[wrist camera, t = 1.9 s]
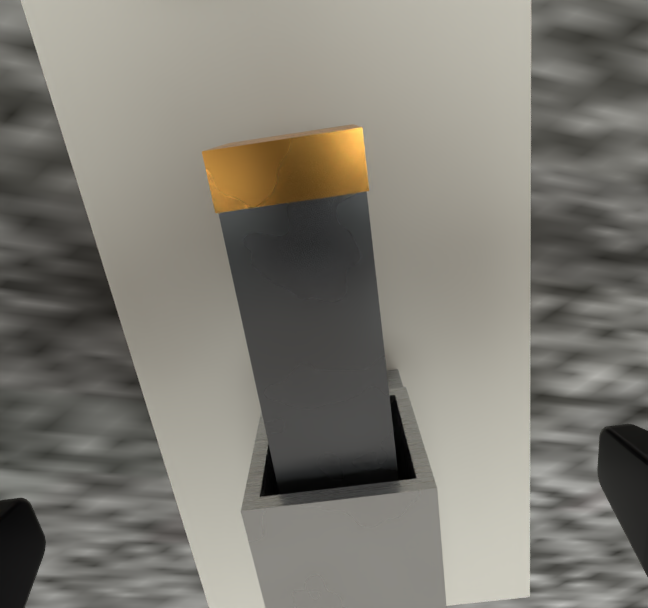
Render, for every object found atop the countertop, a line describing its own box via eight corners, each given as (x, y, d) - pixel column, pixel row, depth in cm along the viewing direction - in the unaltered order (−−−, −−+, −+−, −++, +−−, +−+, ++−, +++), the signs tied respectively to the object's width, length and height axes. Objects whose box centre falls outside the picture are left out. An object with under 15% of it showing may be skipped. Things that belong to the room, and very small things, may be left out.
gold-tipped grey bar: (325, 622, 18) (326, 717, 16) (229, 143, 13) (201, 151, 10) (409, 613, 18) (425, 707, 15) (352, 123, 12) (362, 127, 9)
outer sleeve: (314, 594, 22) (311, 787, 16) (268, 373, 18) (240, 511, 12) (419, 583, 22) (459, 774, 15) (396, 356, 18) (437, 488, 12)
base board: (218, 617, 23) (216, 629, 23) (-70, -331, 12) (-89, -353, 11) (524, 585, 23) (529, 596, 22) (522, -451, 11) (532, -481, 11)
